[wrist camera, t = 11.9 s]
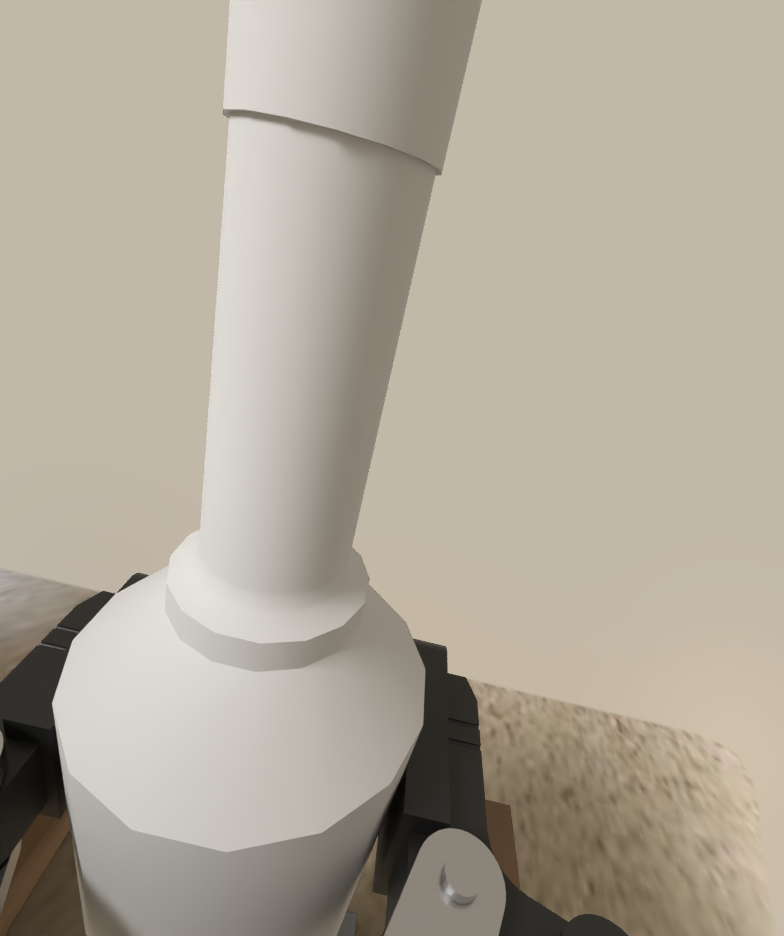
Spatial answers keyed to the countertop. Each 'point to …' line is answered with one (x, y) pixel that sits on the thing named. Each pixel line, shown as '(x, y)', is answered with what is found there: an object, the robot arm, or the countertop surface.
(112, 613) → the bottle
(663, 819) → the countertop surface
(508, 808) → the arena
